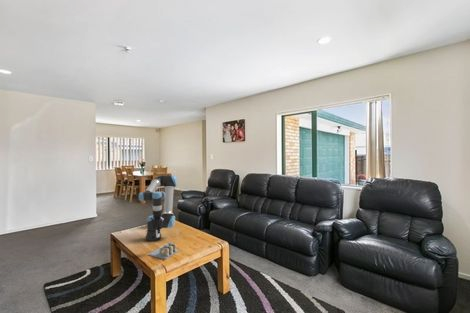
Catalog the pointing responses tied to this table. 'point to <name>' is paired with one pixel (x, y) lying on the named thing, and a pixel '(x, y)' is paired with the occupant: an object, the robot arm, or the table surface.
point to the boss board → (157, 254)
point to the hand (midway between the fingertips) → (157, 236)
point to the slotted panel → (167, 250)
